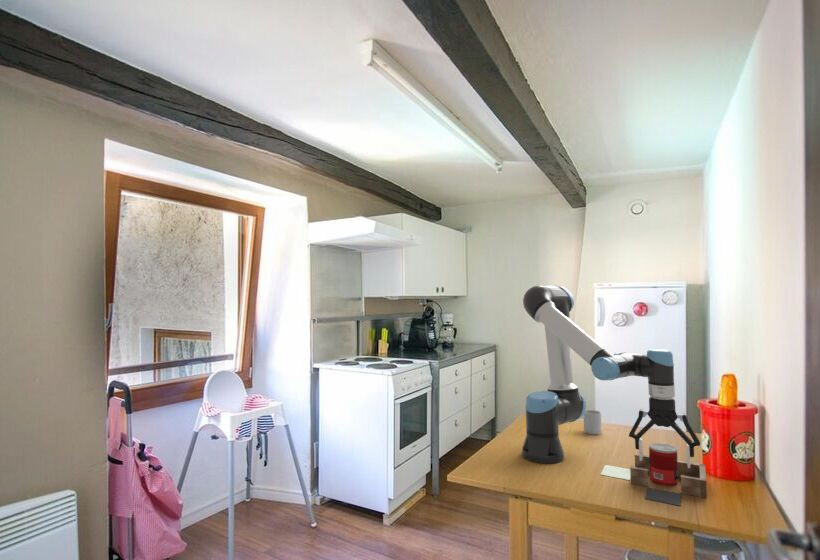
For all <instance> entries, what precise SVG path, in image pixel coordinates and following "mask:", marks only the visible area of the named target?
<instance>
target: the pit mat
mask: <svg viewBox="0 0 820 560" xmlns="http://www.w3.org/2000/svg"><path fill="white" fill-rule="evenodd" d="M644 500H647V501H653V502H657V503H658V502H659V503H663V504H667V505H671V506H672V505H673V506H677V507H681V506H682V501H681V500H682V493H681V492H680V493H678V492H674V491H668V490H663V489H657V488H652V487H649V486H648V487H647V490H646V494H645V499H644Z"/></svg>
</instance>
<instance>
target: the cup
mask: <svg viewBox="0 0 820 560" xmlns="http://www.w3.org/2000/svg"><path fill="white" fill-rule="evenodd" d="M584 431H585V432H586V433H585V432H584ZM583 432H584V433H585V434H587V433H589V434H588V435H592V434H599V435H601V434H602V411H599V410H596V409H586V410H585V413H584V415H583Z"/></svg>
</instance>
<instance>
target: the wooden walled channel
mask: <svg viewBox="0 0 820 560" xmlns="http://www.w3.org/2000/svg"><path fill="white" fill-rule="evenodd" d="M677 463H678V478H680V494H684V495H690V496H694V497H698V498H699V497H700V498H704V499H705V498H706V499H707V477H706V476H707V474H706V465H705V464H702V463H697V462H696V463H695V462H690V468H688V466H687V461H683V460H682V461H681V460H678V459H677ZM629 469H630V477H631V478H630V484H632V485H637V486H641V487H647V488H648V487H649V473H650V461H649V455H646V454H643V459H642V461H640V460H639V453H635V454H634V466H632V465H630V468H629Z"/></svg>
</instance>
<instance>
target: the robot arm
mask: <svg viewBox="0 0 820 560" xmlns="http://www.w3.org/2000/svg"><path fill="white" fill-rule="evenodd" d="M574 303H575V299H574V296H573V294H572V293H571V291H570V290H568V289H567V287H564V286H562V285H561V286H560V285H535V286H532V287H530V288H528V290H527V291H525V293H524V294H523V298H522V304H523V308H524V310H525V312H527V314H528V316H529V317H531V319H532V320H534V321H535V322H536V323H538V324H540V323H541V324H542V325H544V332H545V335H544V336H545V343H546V352H547V360H548V371H549V377H550V378H549V379H550V384H549V385H548V386H547V390H541V391H533V392H531V393H529V394H528V395H527V396H526V398H525V419H526V420H525V421H526V423H525V424H526V425H525V426H526V428H525V429H526V435H525V438H524V441H523V444H522V449H521V453H522V454H521V455H522V457H523V458H525V459H526V460H528V461H531V462H535V463H539V464H557V463H560V462H563V460H564V459H565V452H564V451H565V450H564V449H563V445H562V443H561V440H560V437H559V436H560V435H559V425H564V424H568V423H574V422H575V421H577V420H579V419H581V418H582V417H584V413H585V410H587V409H586V408H587V403H586V399H585V396H583V395H582V393H581V392H580V391H579V386H578V385H577V384H575V383H574V379H573V378H574V377H573V370H572V369H573V367H572V361H571V360H572V359H571V351H570V349H571V350H572V351H573V352H575V353H576V354H577V355H578V356H579V357H581V359H583V360H584V361H585V363H588V365H589V366H590V369H591V372H592V374H593V376H594V377H595V378H596V379H597V380H600V381H614V380H616V379H620V378H621V379H622V378H627V377H630V376H633V377H634V376H635V377H642V378H647V383H648V384H647V385H648V387H647V388H648V395H649V397H648V409H649V410H644V409H641V408H640V409H639V411H638V415H637V416H638V417H637V419H636V420H635V423H634V424H633V426H632V428H631V430H630V432H629V434H628V436H629V437H630V438H632V439H634V445H635V450H638V454H639V460H640V461H642V459H643V455H644V454H643V438H642V437H643V436H644V435H645V433H647V432H648V431H649V430H650V429H651V428H652V427H653V426H654V425H655V426H657V427H663V428H664V427H665V428H670V427H671V428H672V429H673V430H674V431H675V432H676V433H677V434H678V435H679V436H680V437H681V439H682V440H683V441H684V442H685V443H686V462H687V466H688V468H690V463H691V458H694V457H695V448H696V447H700V446H701V441H700V438H699V437H698V436H697V434H696V432H695V430H694V429H693V427H692V425H691V424H690V421H689V420H688V415H687V413H682V414H681V413H680V414H678V413H677V412H676V399H675V397H676V391H675V389H676V388H675V373H674V372H675V371H674V366H675V364H674V357H673V352H672V351H671V350H669V349H660V348H659V349H658V348H650V349H648V350H647V351H646V354H641V353H640V354H639V353H630V352H626V351H624V352H615V353H614V354H612V353H611V352H610V351H608V350H607V349H606V348H604V347H603V346H602V345H601V344H600V343H599V342H598V341H596V340H595V339H594V338H592V336H590V335H589V334H588V333H586V331H584V330H583V329H582V328H580V327H579V326H578V325H577V324H576V323H574V322H573V321H572V320H571V319H570V317H571V315H570V312H571V311H572V309H573V308H574ZM646 416H648V417H649V419H650V420H649V421H648V422H647V424H645V425H644V427H642V428H641V430H640V431H638V432H637V433H636V431H637V429H638V427H639V426H640V424H641V422H642V420H643V418H645V417H646ZM678 419H679V421H680V422H682V423H683V424H684V426H685V428H686V430H687V431H688V433H689V435H690V436H691V438H692V439H691V438H690V437H689V436H688V435H687V434H686V432H684V431H683V429H682V428H681V427H680V426H679V425H678V424H677V422H676V421H677V420H678Z"/></svg>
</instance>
